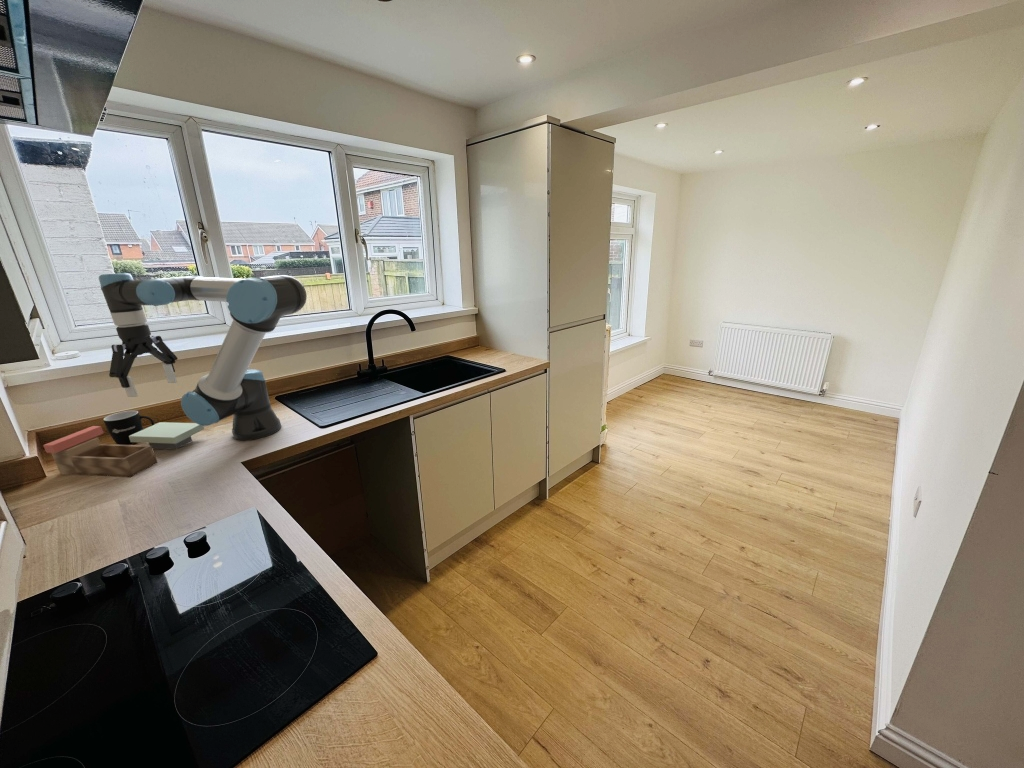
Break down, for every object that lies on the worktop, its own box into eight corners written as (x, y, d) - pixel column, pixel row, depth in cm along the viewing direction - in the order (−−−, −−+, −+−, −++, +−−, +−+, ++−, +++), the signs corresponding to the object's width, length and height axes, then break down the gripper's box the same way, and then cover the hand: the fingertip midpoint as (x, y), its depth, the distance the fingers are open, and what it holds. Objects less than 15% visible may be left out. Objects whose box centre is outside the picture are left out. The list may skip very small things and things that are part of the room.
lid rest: (192, 441, 140) (189, 431, 139) (177, 449, 135) (173, 439, 133) (166, 440, 141) (163, 431, 140) (150, 448, 136) (147, 438, 135)
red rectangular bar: (103, 433, 128) (100, 426, 127) (55, 453, 115) (51, 445, 115) (95, 433, 128) (92, 425, 127) (46, 452, 116) (42, 445, 115)
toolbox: (157, 462, 126) (149, 439, 123) (130, 477, 118) (121, 452, 116) (91, 460, 129) (81, 437, 126) (60, 474, 121) (49, 449, 118)
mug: (111, 450, 135) (100, 423, 132) (115, 441, 142) (105, 414, 139) (157, 440, 142) (148, 413, 138) (159, 431, 149) (150, 406, 145)
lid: (204, 429, 141) (202, 423, 140) (176, 443, 131) (174, 437, 130) (161, 427, 143) (159, 422, 142) (130, 442, 133) (128, 436, 132)
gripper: (158, 318, 137) (177, 377, 144) (75, 333, 113) (102, 403, 120) (178, 317, 136) (196, 377, 143) (98, 333, 112) (124, 403, 119)
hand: (153, 389), depth 131 cm, fingers open, 13 cm apart
